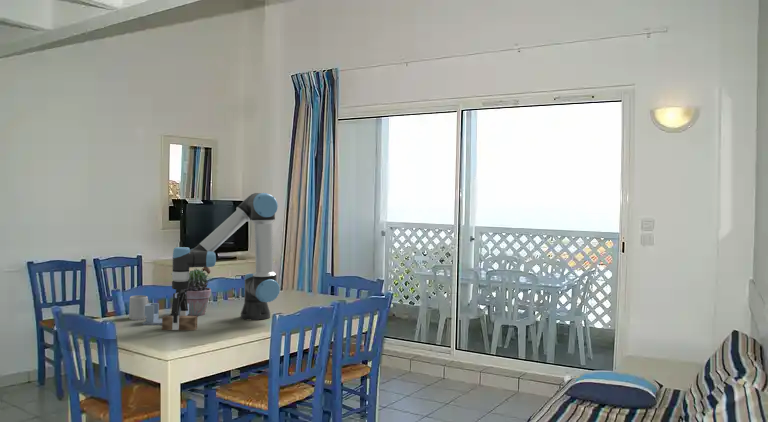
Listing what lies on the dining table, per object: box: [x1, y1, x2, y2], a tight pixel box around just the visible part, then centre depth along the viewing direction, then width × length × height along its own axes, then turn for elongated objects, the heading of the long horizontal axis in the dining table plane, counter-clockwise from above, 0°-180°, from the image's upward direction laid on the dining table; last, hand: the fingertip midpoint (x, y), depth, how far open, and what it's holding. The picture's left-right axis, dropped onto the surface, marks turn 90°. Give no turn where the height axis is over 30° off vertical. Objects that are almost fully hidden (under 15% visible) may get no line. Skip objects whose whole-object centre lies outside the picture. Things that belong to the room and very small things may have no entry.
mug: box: [128, 294, 150, 321], centre depth 315 cm, size 12×8×11 cm
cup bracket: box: [142, 302, 189, 326], centre depth 304 cm, size 20×10×9 cm, turn 92°
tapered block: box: [161, 315, 198, 331], centre depth 291 cm, size 15×4×6 cm, turn 92°
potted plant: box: [185, 267, 212, 317], centre depth 327 cm, size 18×20×25 cm
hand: (179, 327), depth 291 cm, fingers open, 11 cm apart
